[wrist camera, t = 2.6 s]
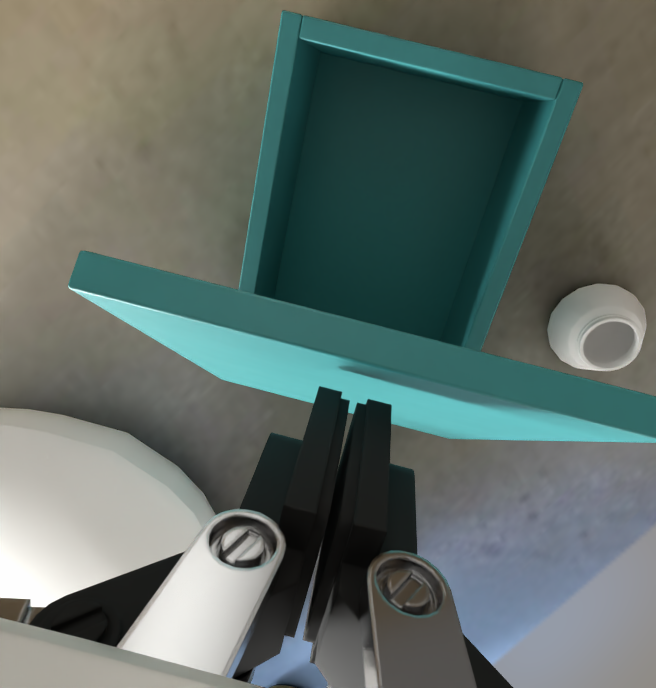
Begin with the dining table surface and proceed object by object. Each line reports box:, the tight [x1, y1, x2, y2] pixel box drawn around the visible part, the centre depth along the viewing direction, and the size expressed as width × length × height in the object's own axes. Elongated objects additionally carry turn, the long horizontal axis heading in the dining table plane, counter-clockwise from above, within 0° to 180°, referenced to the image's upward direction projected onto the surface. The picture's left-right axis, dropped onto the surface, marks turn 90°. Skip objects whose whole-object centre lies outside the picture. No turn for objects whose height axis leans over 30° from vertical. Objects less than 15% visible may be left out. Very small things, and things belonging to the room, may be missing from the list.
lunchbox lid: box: [68, 251, 656, 443], centre depth 18 cm, size 16×12×1 cm
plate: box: [0, 408, 215, 607], centre depth 40 cm, size 28×6×27 cm
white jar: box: [547, 283, 647, 371], centre depth 29 cm, size 5×3×5 cm
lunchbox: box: [239, 10, 583, 352], centre depth 26 cm, size 16×12×7 cm
